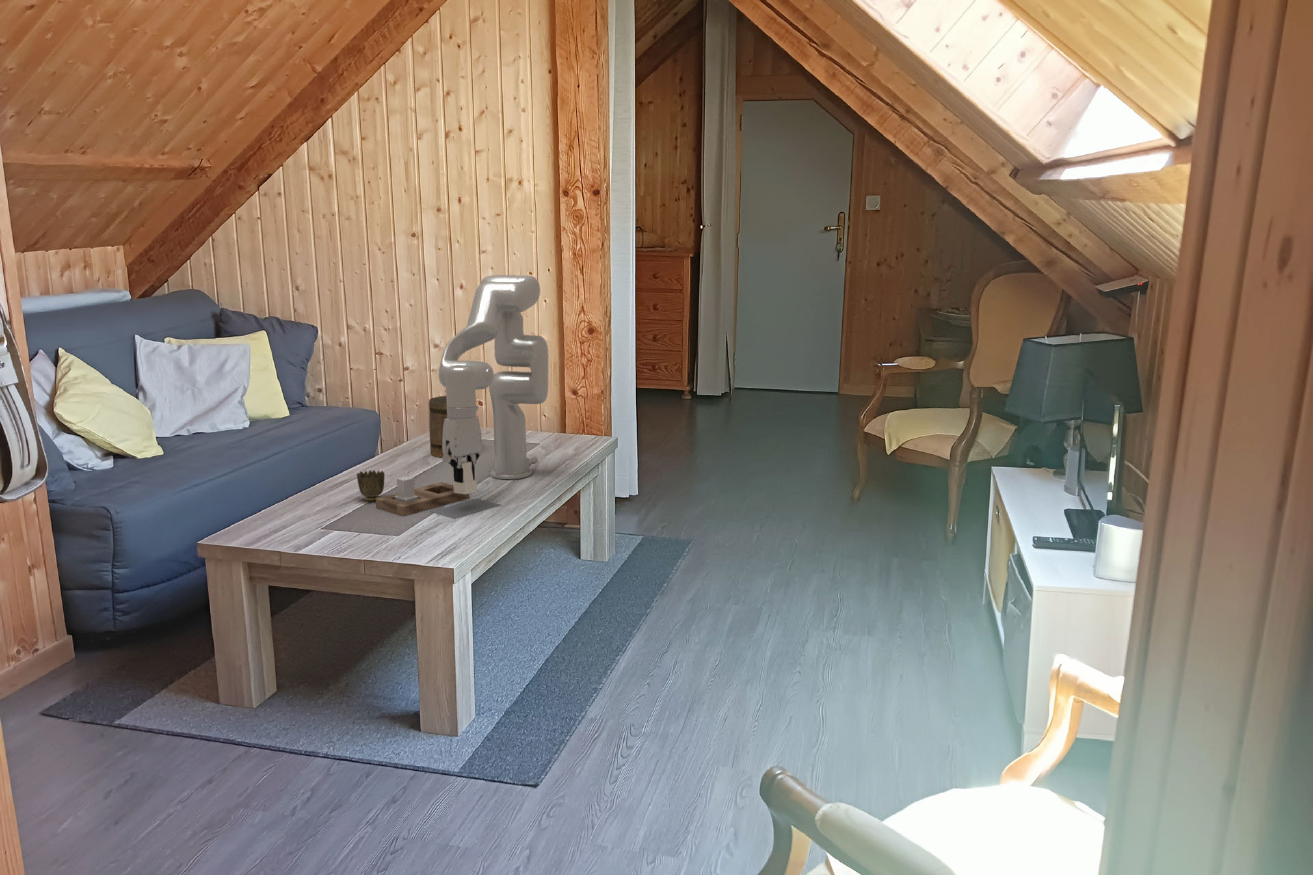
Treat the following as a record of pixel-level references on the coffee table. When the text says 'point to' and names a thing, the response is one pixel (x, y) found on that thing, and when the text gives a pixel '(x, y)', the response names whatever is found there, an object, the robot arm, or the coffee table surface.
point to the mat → (465, 508)
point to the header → (421, 499)
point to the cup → (371, 484)
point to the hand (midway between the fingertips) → (464, 479)
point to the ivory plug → (466, 480)
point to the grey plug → (405, 489)
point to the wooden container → (437, 424)
